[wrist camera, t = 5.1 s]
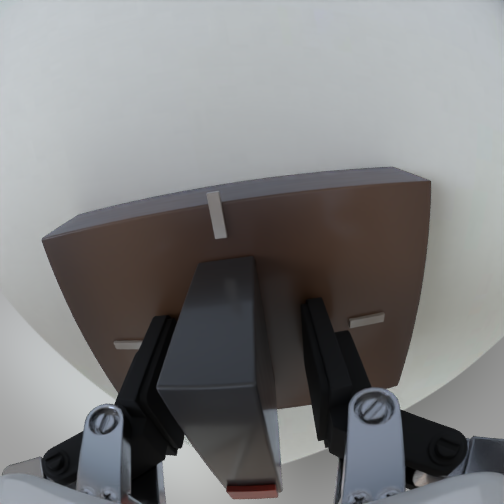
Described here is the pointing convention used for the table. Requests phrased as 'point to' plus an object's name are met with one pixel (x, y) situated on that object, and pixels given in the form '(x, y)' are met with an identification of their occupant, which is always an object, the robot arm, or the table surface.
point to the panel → (257, 264)
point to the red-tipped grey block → (226, 379)
